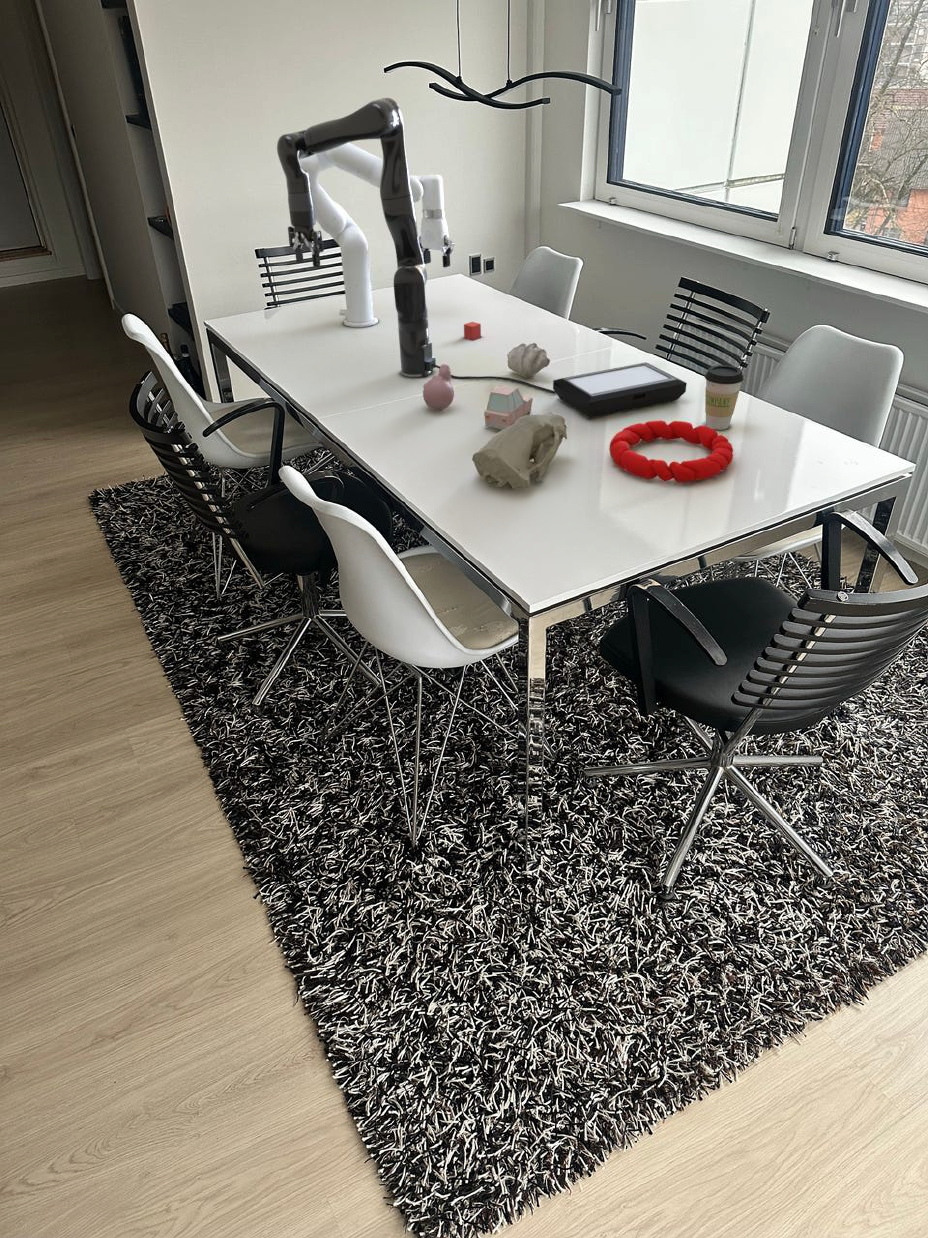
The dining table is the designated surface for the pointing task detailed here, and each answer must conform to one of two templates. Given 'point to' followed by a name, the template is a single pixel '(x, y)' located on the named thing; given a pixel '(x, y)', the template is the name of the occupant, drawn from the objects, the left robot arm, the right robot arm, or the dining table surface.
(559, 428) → the animal skull
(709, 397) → the coffee cup
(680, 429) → the decorative ring
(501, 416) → the toy car
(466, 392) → the dining table surface
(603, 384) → the electronic device
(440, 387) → the figurine
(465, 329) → the block
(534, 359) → the seashell
